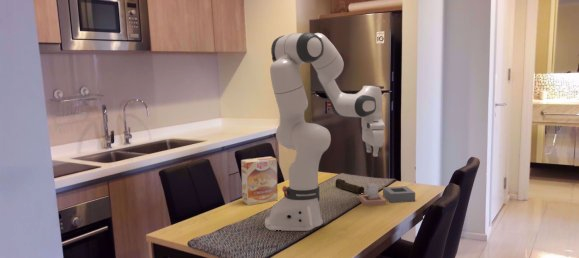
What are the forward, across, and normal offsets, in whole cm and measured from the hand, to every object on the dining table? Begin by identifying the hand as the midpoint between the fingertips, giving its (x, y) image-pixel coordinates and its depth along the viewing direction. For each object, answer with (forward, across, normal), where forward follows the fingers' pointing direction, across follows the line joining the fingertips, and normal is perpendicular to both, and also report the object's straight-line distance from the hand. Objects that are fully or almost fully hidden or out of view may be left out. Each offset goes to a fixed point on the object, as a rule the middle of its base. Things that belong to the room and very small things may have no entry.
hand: (372, 154), depth 191 cm
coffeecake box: (+21, -11, -49) cm, 55 cm away
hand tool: (+22, -21, -6) cm, 31 cm away
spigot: (+21, 0, 0) cm, 21 cm away
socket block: (+21, -3, +13) cm, 25 cm away
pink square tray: (+21, 0, 0) cm, 21 cm away
